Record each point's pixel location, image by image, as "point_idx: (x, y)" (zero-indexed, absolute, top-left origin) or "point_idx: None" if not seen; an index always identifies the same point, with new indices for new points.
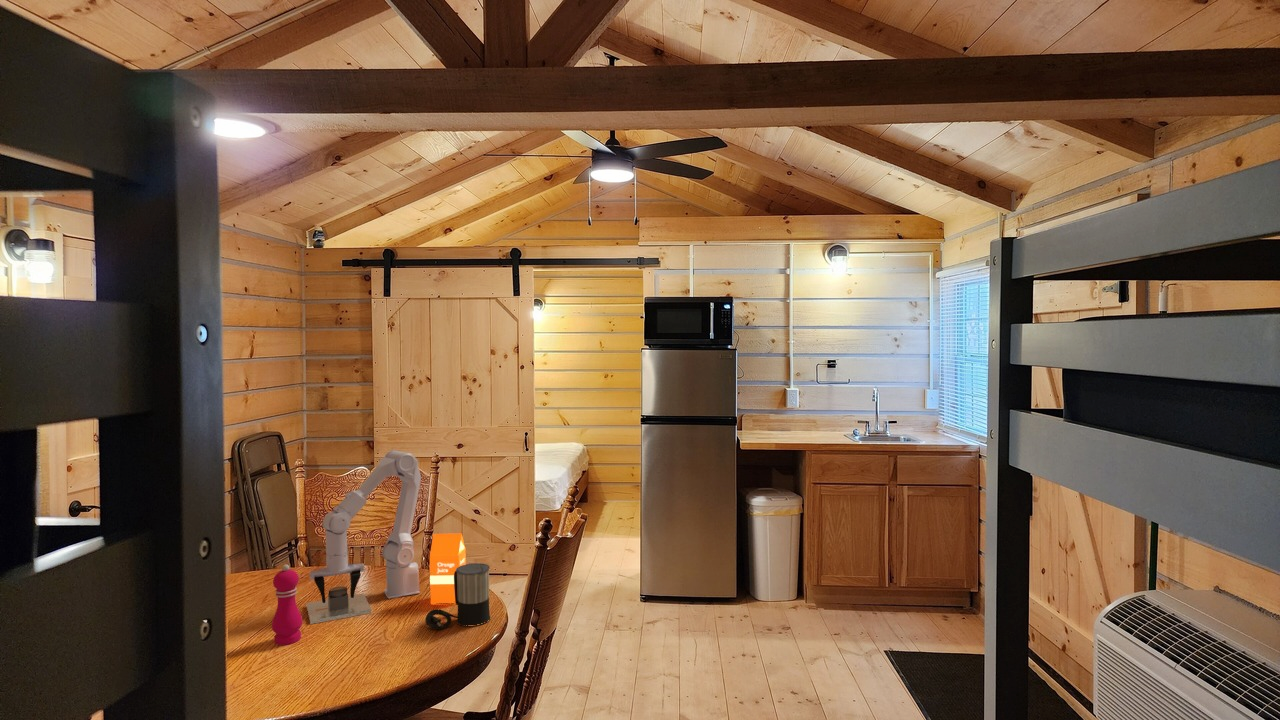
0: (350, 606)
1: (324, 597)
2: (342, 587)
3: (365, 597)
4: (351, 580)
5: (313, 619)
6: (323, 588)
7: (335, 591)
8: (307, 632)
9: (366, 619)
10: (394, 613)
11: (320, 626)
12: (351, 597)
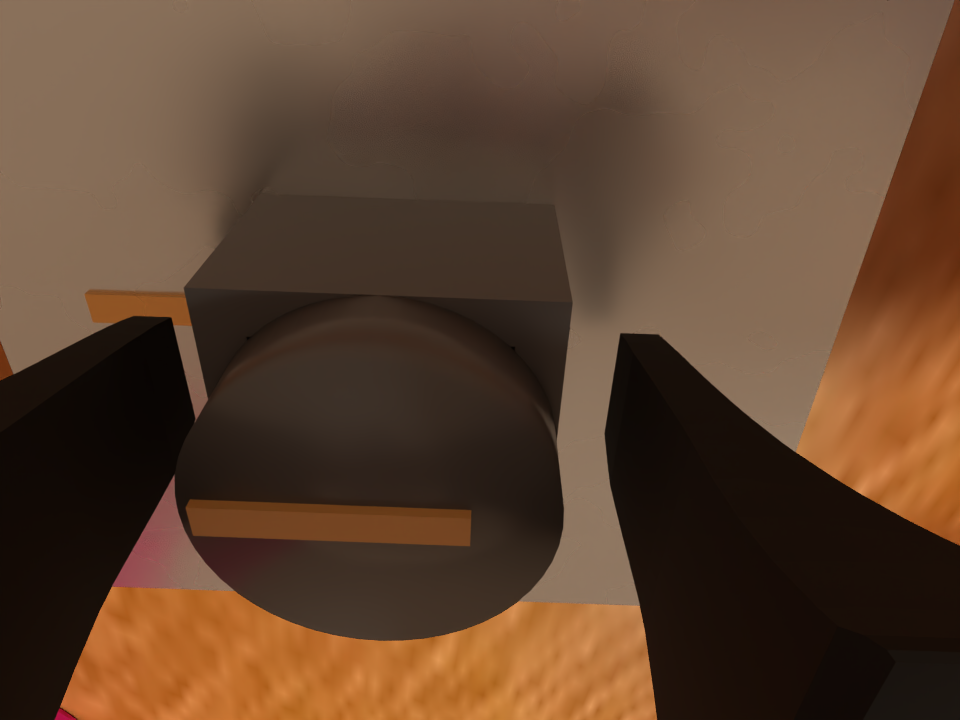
0: (563, 416)
1: (146, 502)
2: (478, 452)
3: (903, 140)
4: (685, 709)
5: (126, 570)
6: (43, 691)
7: (320, 592)
8: (128, 683)
9: (629, 675)
10: None
11: (225, 631)
12: (607, 442)
